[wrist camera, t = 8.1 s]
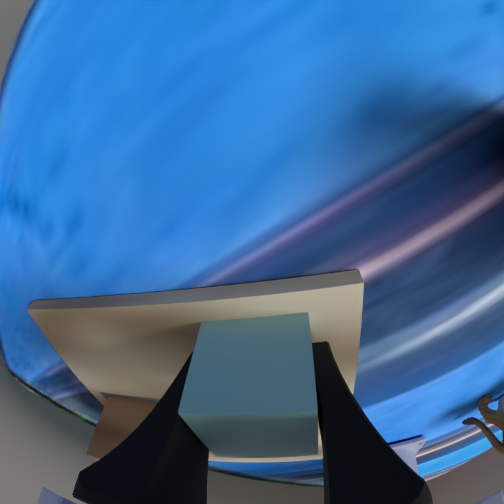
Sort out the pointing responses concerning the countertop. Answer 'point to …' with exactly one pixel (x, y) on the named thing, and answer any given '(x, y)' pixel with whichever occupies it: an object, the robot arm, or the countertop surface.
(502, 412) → the lion figurine
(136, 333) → the baseplate
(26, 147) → the countertop surface
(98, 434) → the walnut block
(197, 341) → the teal block
